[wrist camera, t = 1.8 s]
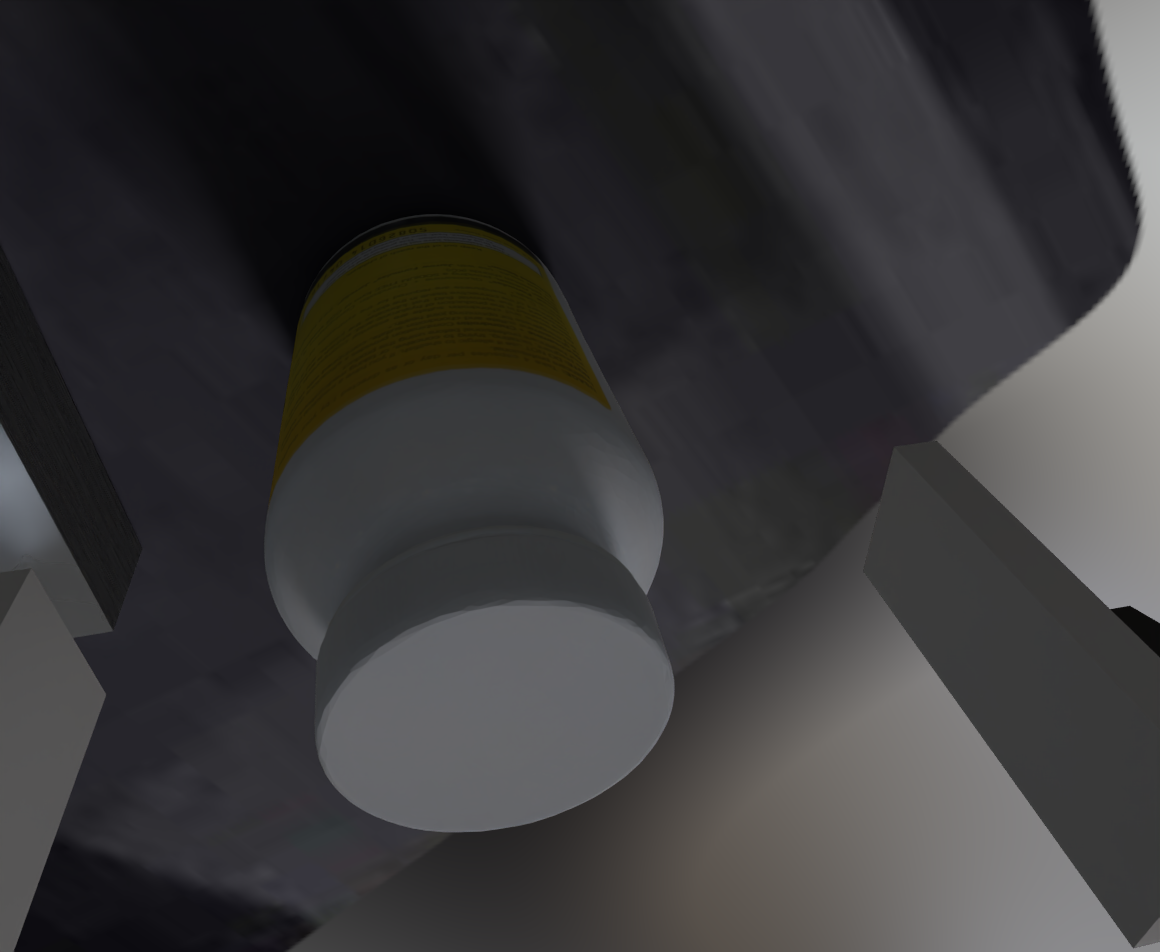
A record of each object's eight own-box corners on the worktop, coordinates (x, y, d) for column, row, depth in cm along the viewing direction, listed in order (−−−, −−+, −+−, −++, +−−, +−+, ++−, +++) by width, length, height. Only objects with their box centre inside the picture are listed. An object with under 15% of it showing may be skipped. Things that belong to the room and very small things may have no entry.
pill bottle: (251, 245, 17) (114, 634, 8) (538, 172, 18) (723, 463, 8) (355, 476, 21) (345, 917, 12) (588, 413, 22) (751, 791, 12)
